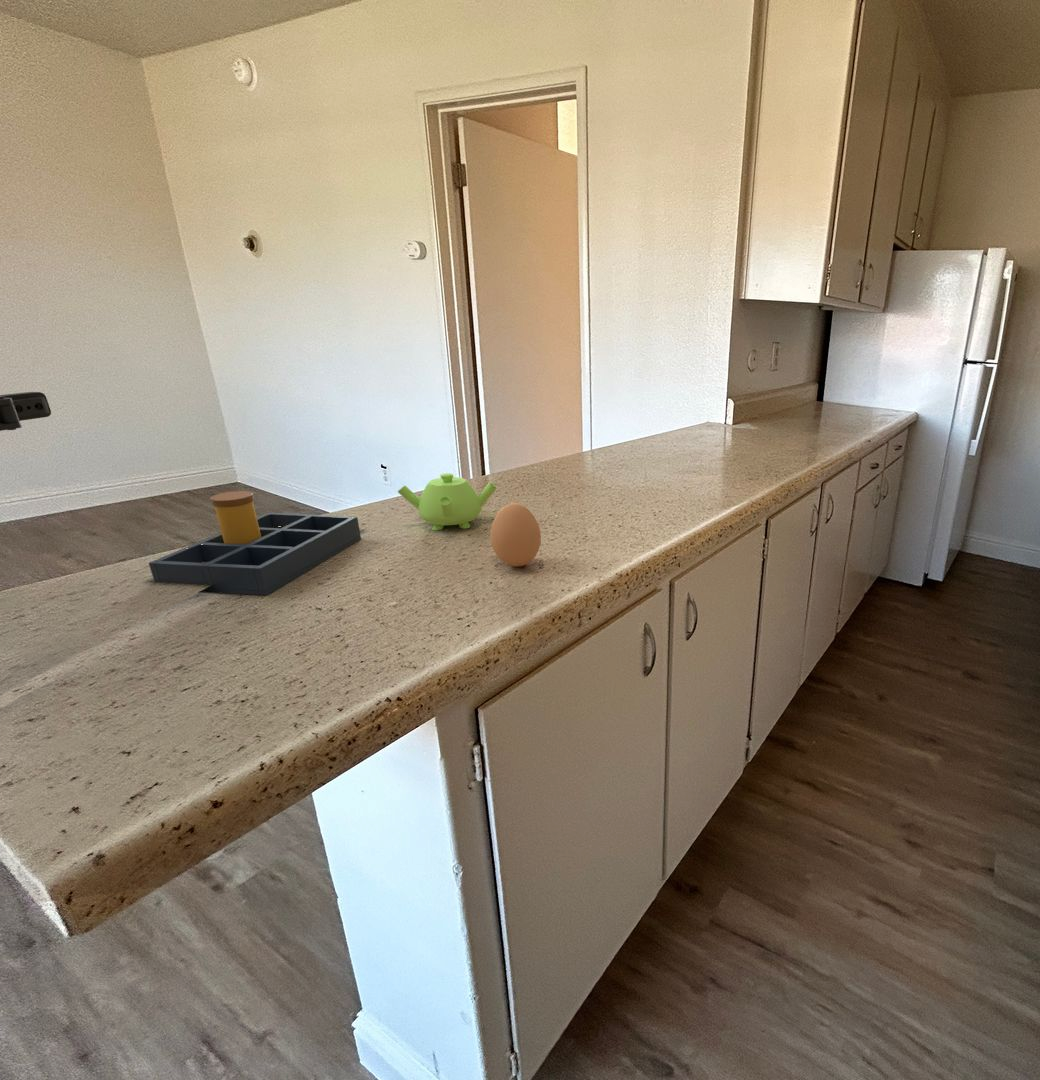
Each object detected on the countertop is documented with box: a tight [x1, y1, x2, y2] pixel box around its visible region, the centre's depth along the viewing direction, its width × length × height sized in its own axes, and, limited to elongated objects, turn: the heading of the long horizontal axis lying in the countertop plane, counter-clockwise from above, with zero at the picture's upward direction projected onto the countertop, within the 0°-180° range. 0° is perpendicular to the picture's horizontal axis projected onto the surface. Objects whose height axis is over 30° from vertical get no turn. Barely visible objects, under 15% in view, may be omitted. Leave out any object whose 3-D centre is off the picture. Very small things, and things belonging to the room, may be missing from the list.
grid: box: [148, 512, 362, 596], centre depth 80 cm, size 13×20×4 cm
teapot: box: [397, 472, 498, 531], centre depth 97 cm, size 11×12×8 cm
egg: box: [490, 502, 542, 568], centre depth 82 cm, size 7×7×9 cm
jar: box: [209, 490, 261, 544], centre depth 79 cm, size 4×4×8 cm
